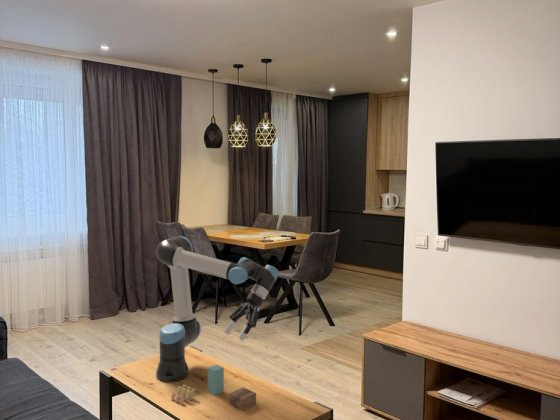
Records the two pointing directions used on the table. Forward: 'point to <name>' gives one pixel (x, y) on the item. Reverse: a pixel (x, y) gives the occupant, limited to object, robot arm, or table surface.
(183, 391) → the ammunition
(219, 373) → the teal block
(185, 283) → the robot arm
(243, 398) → the walnut base
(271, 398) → the table surface
